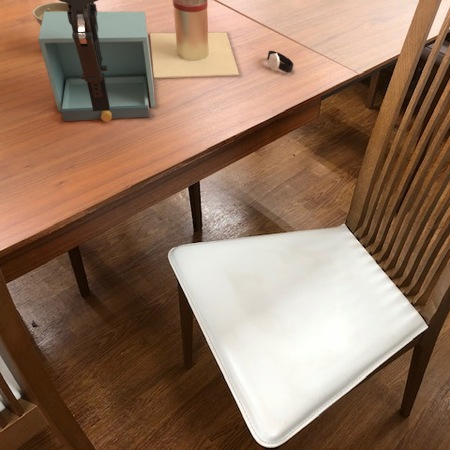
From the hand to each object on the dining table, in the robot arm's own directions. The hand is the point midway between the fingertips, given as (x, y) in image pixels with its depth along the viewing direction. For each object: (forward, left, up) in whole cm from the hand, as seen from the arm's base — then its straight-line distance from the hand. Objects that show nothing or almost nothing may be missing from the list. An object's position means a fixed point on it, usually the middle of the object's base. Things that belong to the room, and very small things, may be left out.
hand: (101, 108), depth 89 cm
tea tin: (+7, +32, -4) cm, 33 cm away
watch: (+27, +33, -5) cm, 43 cm away
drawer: (-3, +9, -5) cm, 11 cm away
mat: (+7, +32, -5) cm, 33 cm away
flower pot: (-19, +25, -5) cm, 32 cm away
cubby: (-4, +11, -5) cm, 13 cm away
